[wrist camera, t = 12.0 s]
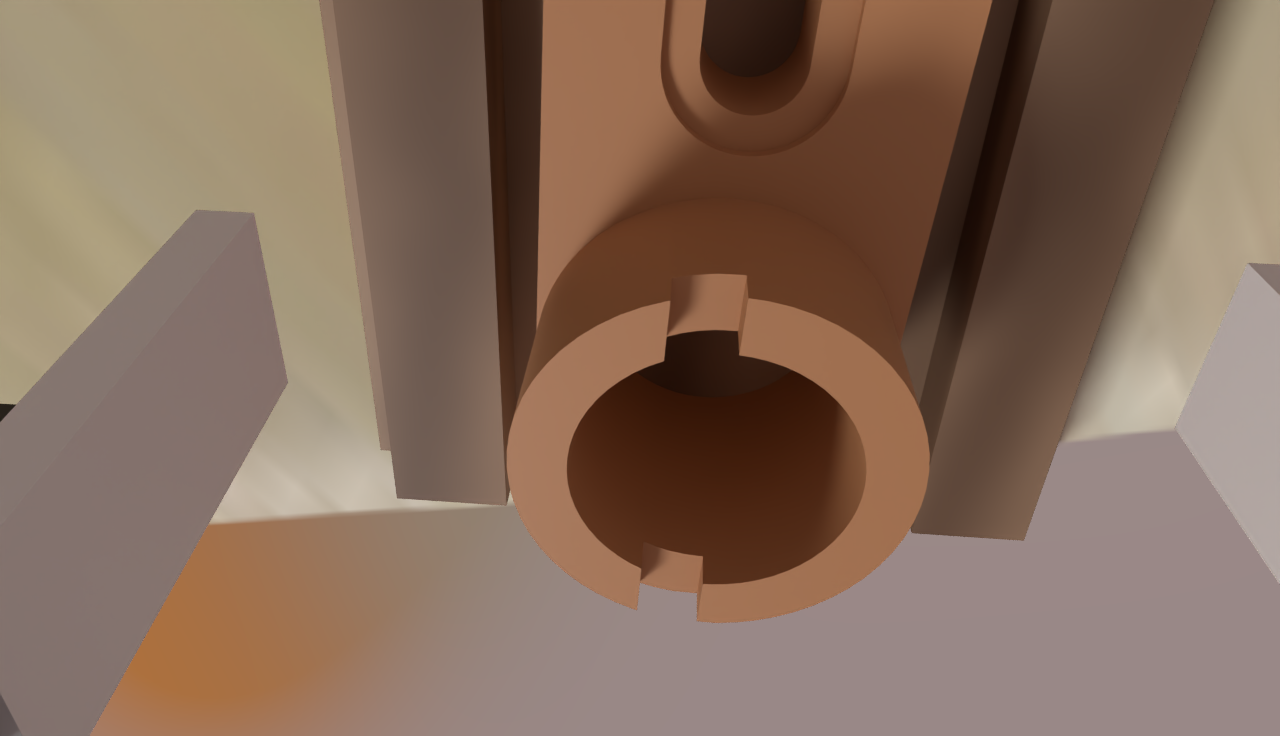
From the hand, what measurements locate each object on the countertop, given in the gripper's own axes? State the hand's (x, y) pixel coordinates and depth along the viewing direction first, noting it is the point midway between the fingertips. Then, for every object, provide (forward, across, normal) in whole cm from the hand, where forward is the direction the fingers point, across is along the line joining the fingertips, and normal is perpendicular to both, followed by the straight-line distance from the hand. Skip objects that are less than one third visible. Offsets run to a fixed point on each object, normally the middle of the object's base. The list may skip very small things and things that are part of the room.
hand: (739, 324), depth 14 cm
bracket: (+10, +1, -1) cm, 11 cm away
